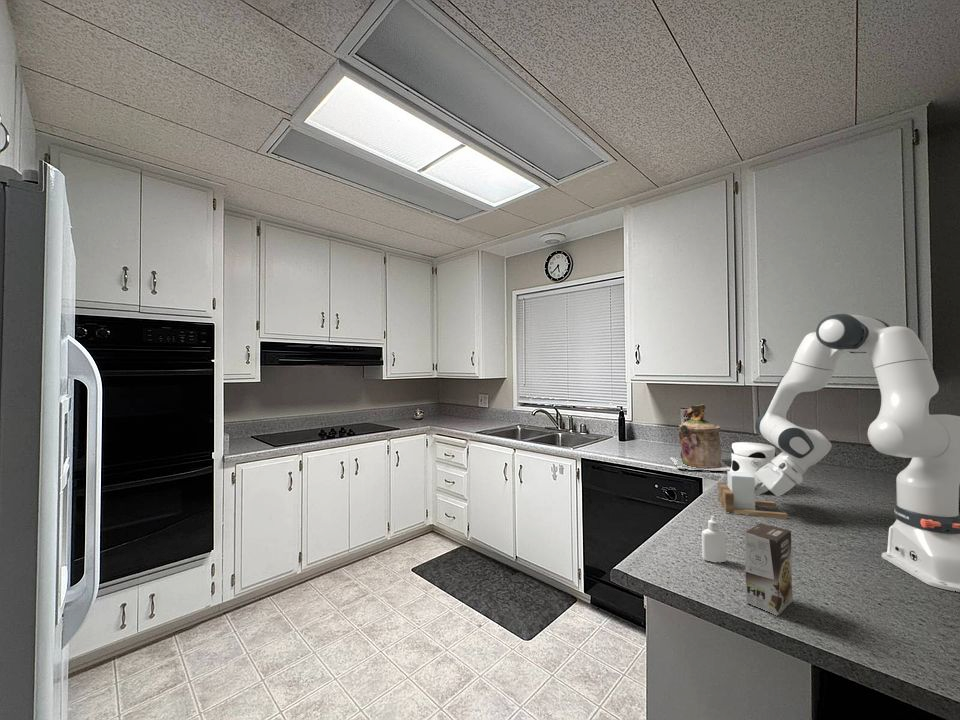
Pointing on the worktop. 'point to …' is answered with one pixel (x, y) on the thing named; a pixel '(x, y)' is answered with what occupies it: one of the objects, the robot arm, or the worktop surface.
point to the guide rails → (761, 513)
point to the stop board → (725, 497)
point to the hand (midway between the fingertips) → (754, 493)
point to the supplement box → (742, 489)
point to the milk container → (751, 457)
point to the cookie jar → (700, 442)
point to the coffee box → (768, 568)
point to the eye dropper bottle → (713, 542)
